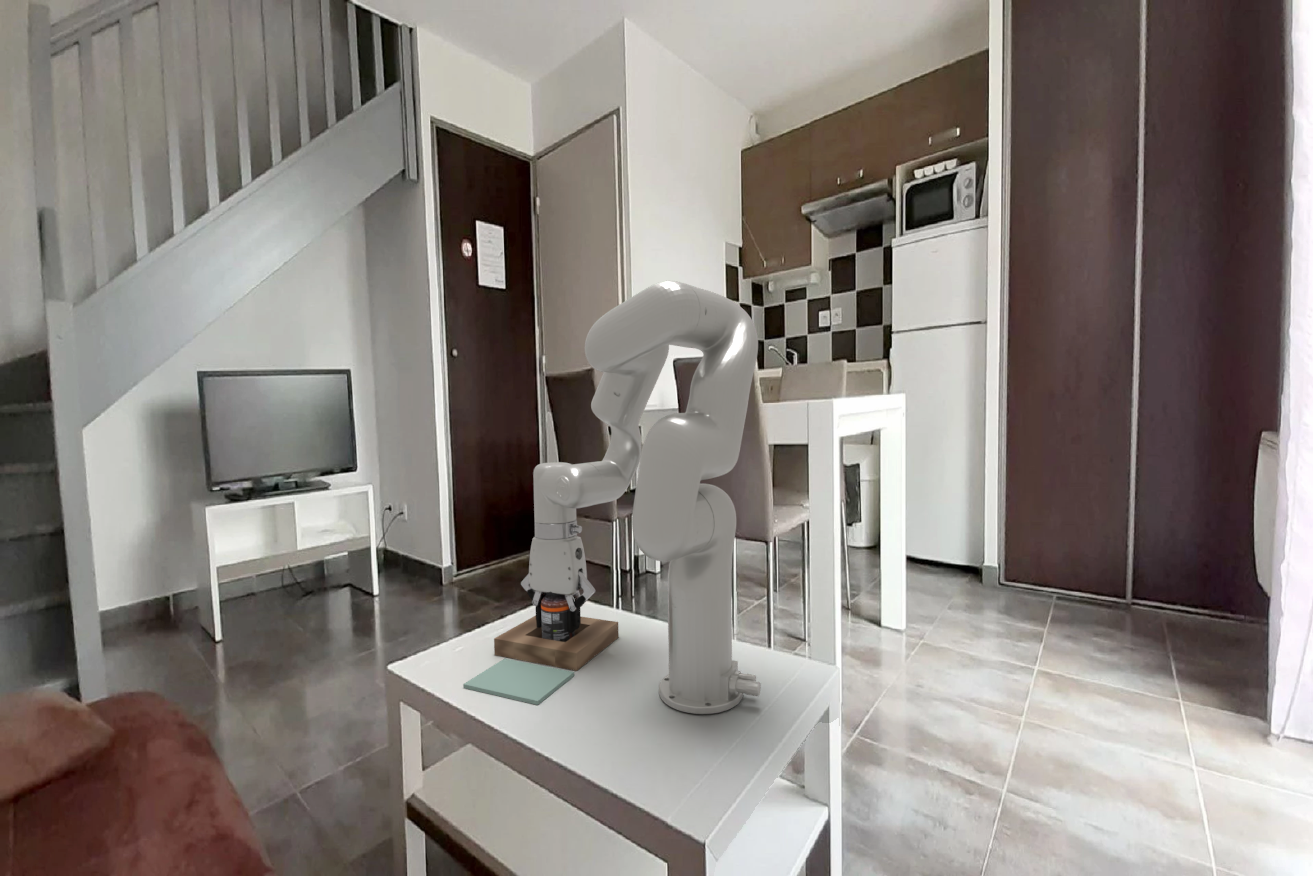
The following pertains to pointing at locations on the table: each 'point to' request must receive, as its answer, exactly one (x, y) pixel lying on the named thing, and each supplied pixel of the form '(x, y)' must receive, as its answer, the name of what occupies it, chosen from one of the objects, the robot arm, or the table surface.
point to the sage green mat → (519, 681)
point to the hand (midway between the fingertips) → (558, 626)
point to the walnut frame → (557, 643)
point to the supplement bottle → (555, 617)
